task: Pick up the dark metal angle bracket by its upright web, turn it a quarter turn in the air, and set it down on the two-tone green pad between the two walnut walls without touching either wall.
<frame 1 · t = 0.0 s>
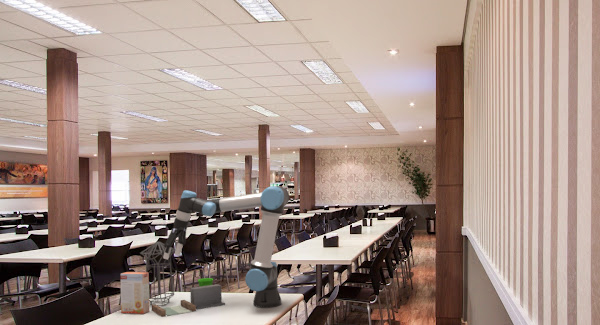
hand: (171, 257, 275), 28 cm above the table, tool tilted 20°, fingers open, 13 cm apart
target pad: (173, 310, 271), on the table
cracker box: (135, 312, 271), on the table
cup: (206, 298, 299), on the table
bay walls: (173, 310, 271), on the table
angle bracket: (208, 305, 280), on the table
geometric lantern: (159, 304, 288), on the table
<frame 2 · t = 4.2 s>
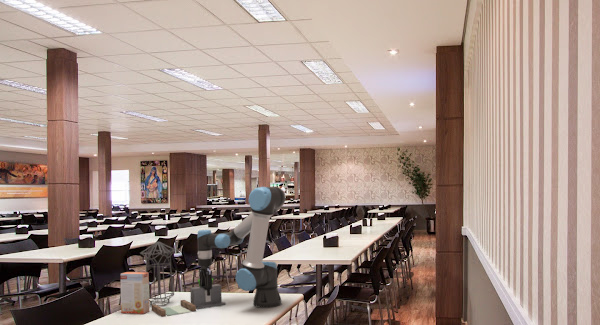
hand: (206, 300, 282), 2 cm above the table, tool pointing down, fingers closed on angle bracket, 5 cm apart
angle bracket: (208, 305, 280), on the table, touching gripper
everything else where it was.
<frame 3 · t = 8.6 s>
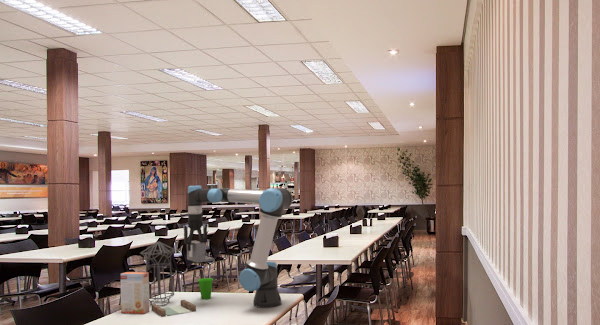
hand: (196, 256, 281), 27 cm above the table, tool pointing down, fingers closed on angle bracket, 5 cm apart
angle bracket: (200, 259, 282), point 25 cm above the table, touching gripper
everything else where it was.
when the fingers open (4 cm above the table, at t = 13.3 s): angle bracket drops 1 cm, resting on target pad.
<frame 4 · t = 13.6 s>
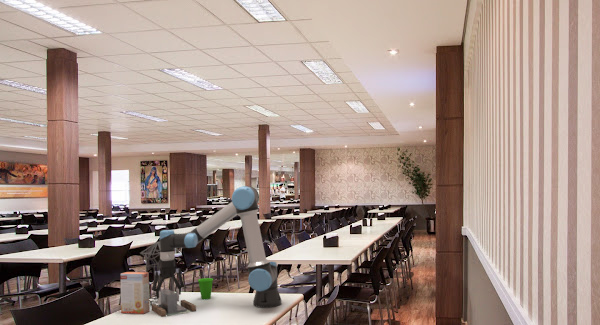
hand: (168, 302, 270), 5 cm above the table, tool pointing down, fingers open, 9 cm apart
angle bracket: (172, 310, 271), resting on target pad
everything else where it was.
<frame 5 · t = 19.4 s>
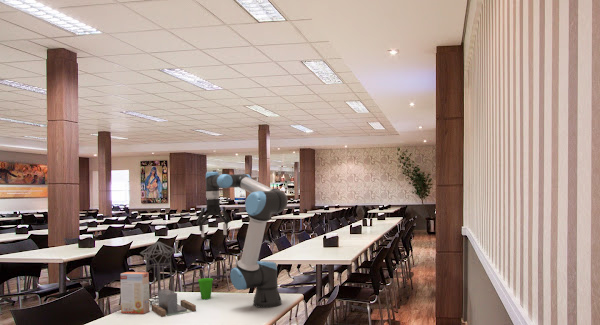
hand: (214, 235, 293), 37 cm above the table, tool pointing down, fingers open, 13 cm apart
nothing on the table moved.
at the end: angle bracket 0.5 cm off-centre on the bay walls, point 0.4 cm above the bay walls's base; angle bracket touching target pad; angle bracket tilted 0° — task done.
